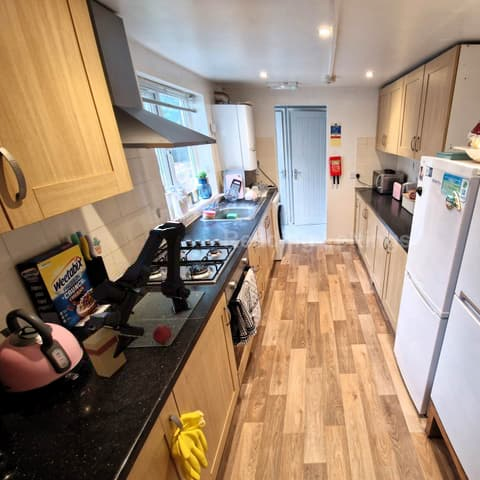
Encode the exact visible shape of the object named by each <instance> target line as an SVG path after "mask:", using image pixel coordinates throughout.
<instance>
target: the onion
mask: <svg viewBox="0 0 480 480" xmlns="http://www.w3.org/2000/svg"><path fill="white" fill-rule="evenodd" d="M171 336H172V330H171V328H169V327H168V326H166V325H163V324H161V323H160V324H159V325H158V326H157V328H155V330H154V331H153V333H152V339H153V341H154V342H156V343H157V344H166V343H167V342H168V341H169V340H170V338H171Z"/></svg>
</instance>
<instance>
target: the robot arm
mask: <svg viewBox="0 0 480 480" xmlns="http://www.w3.org/2000/svg"><path fill="white" fill-rule="evenodd" d="M186 231H187V229H186V225H185V224H184V223H183V222H181V221H170V220H169V221H165V222H164V223H163V224H160V225H157V226H156V227H154V228H152V229H150V231H149V232H148V236H147V239H146V241H145V242H144V244H143V246H142V248H141V249H140V252H139V254H138V256H137V258H136V260H135V261H134V263H132V264H131V265H128V267H127V268H126V269H125V271H124V272H123V273H122V275H121V276H119V277H118V278H117V279H116V280H114V281H113V280H111V279H104V280H103V282H101V283H100V284H98V285H96V287H95V288H94V289H93V290H92V292H91V293H92V294H91V295H92V296H91V297H92V299H93V300H94V301H95V302H99V303H100V302H101V303H106V304H110V305H112V307H110V306H109V307H108V308H107V310H106V311H104V312H103V311H102V312H98V313H93V314H90V315H89V318H88V319H87V320H85V321H84V324H82V328H84V331H85V332H87V334H88V335H89V337H90V336H92V335H93V334H94V333H96V332H97V331H99V330H100V329H101V328H107V329H113V330H114V332H119V333H120V334H117V339H118V344H117V347H116V349H115V352H114V355H113V358H117V357H118V356H119V355H120V354H121V353H122V352H123V353H124V351H125V350H126V349H127V348H128V347H129V346H131V344H132V343H133V342H135V340H136V339H137V340H138V339H139V338H140V337H143V336H144V335H145V332H146V330H145V327H143V326H136V325H130V324H131V323H128V322H129V321H130V317H131V316H132V315H135V313H136V312H135V311H133V310H134V308H135V305H136V302H137V300H138V298H139V297H144V296H145V294H144V292H143V291H142V288H144V287H146V286H147V285H148V284H149V281H150V278H151V275H152V271H151V267H152V264H153V262H154V260H155V258H156V256H157V254H158V252H159V250H160V248H161V246H162V243H163V242H164V240H165V242H166V277H165V279H164V280H163V281H161V282H160V292H161V294H162V296H164V297H166V299H171V302H172V305H171V309H172V310H173V312H174V314H175V315H176V314H179V313H182V312H184V311H189V310H190V309H191V308H192V307H191V305H190V303H189V301H188V298H190V295H191V292H192V291H191V289H190V288H186V286H185V282H184V280H183V278H182V276H181V250H182V249H181V246H182V242H183V240H184V239H185V236H186Z"/></svg>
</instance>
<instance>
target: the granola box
mask: <svg viewBox="0 0 480 480" xmlns="http://www.w3.org/2000/svg"><path fill="white" fill-rule="evenodd" d="M118 341H119V339H118V335H117V334H116V331H114V330H113V329H107V328H101V329H100V330H99V331H97V332H96V333H94V334H93V335H92V336H90V335H89V336H88V338H86V339H84V340H83V341H82V345H83V347H84V350H85V352H86V354H87V355H88V357H89V360H90V361H91V363H92V365H93V368H94V370H95V371H96V374H97V375H98V376H100V377H105V378H110V377H111V376H112V375H114V374H115V373H116V372H117V371H118V370H119V369H120V368H121V367H122V366H123V365H124V364H125V363H126V362H127V358H126V357H125V354H124V351H123V352H122V353H121V354H120V355H119V356H118V357H117V358H113V355H114V352H115V349H116V347H117V344H118Z"/></svg>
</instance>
